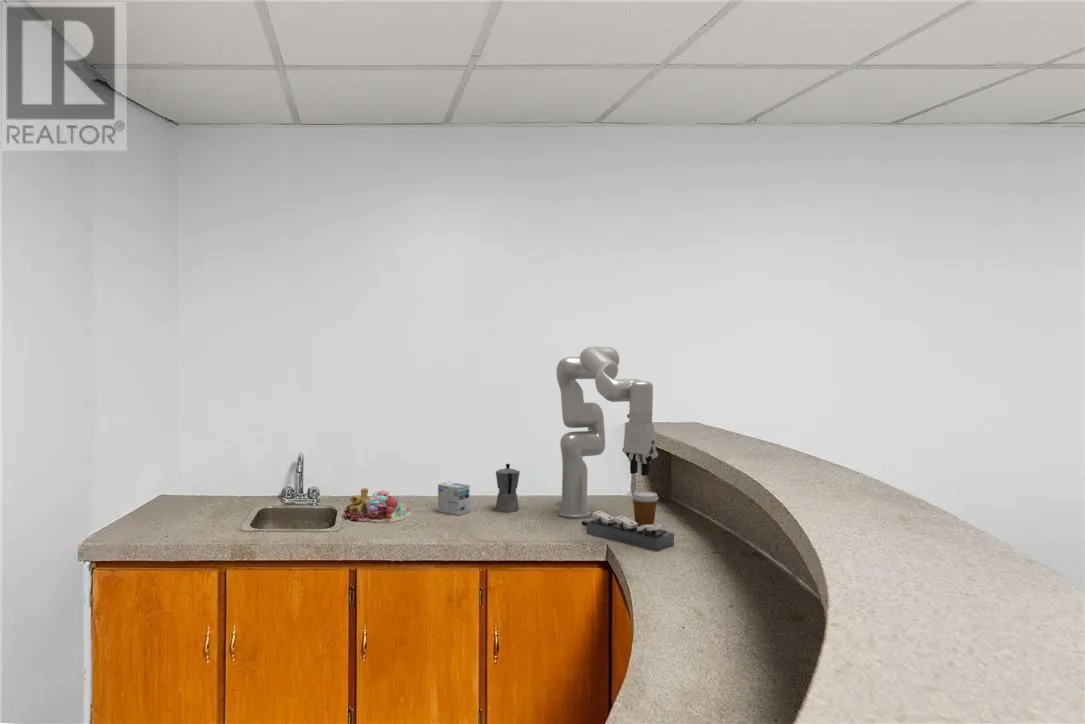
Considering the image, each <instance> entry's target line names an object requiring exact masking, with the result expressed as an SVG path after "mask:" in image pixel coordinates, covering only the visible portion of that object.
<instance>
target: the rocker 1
mask: <svg viewBox="0 0 1085 724" xmlns="http://www.w3.org/2000/svg"><path fill="white" fill-rule="evenodd" d="M591 515H592V517H594V518H596V519H597V518H599V519H601V520H602V521H604V522H606V523H611V522H615V521H614V518H615V516H613V515H610V514H608V513H606V512H604V511H602V510H596V511H593V512H592V514H591Z"/></svg>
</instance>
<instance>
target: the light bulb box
mask: <svg viewBox="0 0 1085 724" xmlns="http://www.w3.org/2000/svg"><path fill="white" fill-rule="evenodd" d="M470 486H471V485H470V484H467V483H466V484H465V483H459V482H454V481H453V482H452V481H446V482H442V483H438V484H437V512H440V513H444V514H450V515H456V516H461V515H465V514H468V513H470V511H471V510H470V507H471V506H470V499H471V498H470V496H471V494H470V491H471V490H470V488H471V487H470Z"/></svg>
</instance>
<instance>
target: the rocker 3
mask: <svg viewBox="0 0 1085 724" xmlns="http://www.w3.org/2000/svg"><path fill="white" fill-rule="evenodd" d="M642 529H645V530H658V529H661V530H662V529H663V527H662V524H658V523H656V524H653V525H642V526H638V527H637V531H642Z"/></svg>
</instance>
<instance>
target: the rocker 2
mask: <svg viewBox="0 0 1085 724" xmlns="http://www.w3.org/2000/svg"><path fill="white" fill-rule="evenodd" d="M614 521H616V522H618V523H620V524H623V525H624V526H625V527H627V528H629V529H632V528H635V527H638V523H636V522H635V520H632V519H630V518H629V517H626V516H624V515H618V516H614Z"/></svg>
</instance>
